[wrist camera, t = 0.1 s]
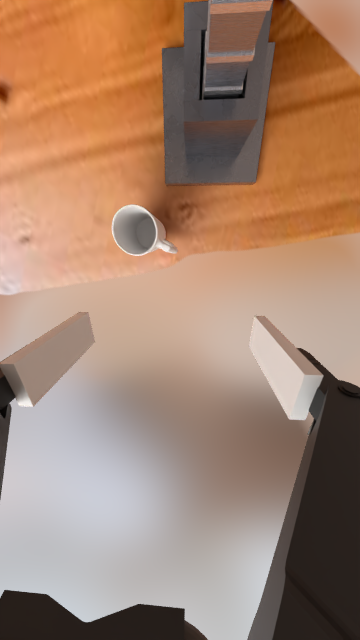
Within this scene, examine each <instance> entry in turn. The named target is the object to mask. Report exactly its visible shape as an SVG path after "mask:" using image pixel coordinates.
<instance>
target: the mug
mask: <svg viewBox="0 0 360 640" xmlns="http://www.w3.org/2000/svg"><path fill="white" fill-rule="evenodd" d="M112 233H113V237H114V239H115V241H116V243H117V245H118V246H119V247H120V248H121V249H122V250H123V251H124V252H126V253H128V254H130V255H134V256H140V255H144V254H147V253H150V252H152V251H155V250H157V249H159V248H161V249H163V250H164V251H166V252H170V253H177V252H178V249H177V248H176V247H175V246H174V245H173V244H172V243H170V242H169V241H167V240H166V231H165V228H164V226H163V224H162V223H161V222H160V221H159V220H158V219H157V218H156V217H155V216H154V215H153V214H151V213H150V212H149V211H148V210H146V209H145V208H143V207H141V206H139V205H126V206H124V207H122V208H120V209H119V210H118V211H117V212H116V214H115V216H114V218H113V221H112Z"/></svg>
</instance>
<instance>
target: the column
mask: <svg viewBox="0 0 360 640" xmlns="http://www.w3.org/2000/svg"><path fill="white" fill-rule="evenodd" d="M272 1H273V0H208V23H207V31H206V35H205V61H204V66H203V85H202V89H201V100H216V99H238V96H239V94H241V93H242V90H243V81H244V78H245V75H246V72H247V69H248V66H249V63H250V61H252V60H253V57H254V53H255V44H256V41H257V38H258V35H259V32H260V29H261V26H262V23H263V20H264V17H265V14H266V11H269V10H270V7H271V4H272Z"/></svg>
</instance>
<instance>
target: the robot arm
mask: <svg viewBox="0 0 360 640" xmlns="http://www.w3.org/2000/svg"><path fill="white" fill-rule="evenodd" d="M94 342H95V340H94V335H93V331H92V326H91V322H90V317H89V313H88V312H79V313H77V314H76V315H74V316H72V317H71V318H69V319H68V320H66V321H64V322H63V323H61V324H60V325H58V326H57V327H55V328H54V329H52V330H50V331H49V332H47V333H46V334H44V335H42V336H41V337H39V338H38V339H36V340H35V341H33V342H31V343H30V344H28V345H26V346H25V347H23V348H22V349H20V350H19V351H17V352H15V353H14V354H12V355H10V356H9V357H7V358H6V359H4V360H3V361H1V362H0V498H1V490H2V481H3V473H4V466H5V457H6V450H7V442H8V434H9V425H10V417H11V405H10V404H9V403H10V402H11V401H12V400H13V399H14V398H16V400H17V402H18V404H19V406H29V407H34V405H35V404H36V403H37V402H38V401H39V400H40V399H41V398H42V397H43V396H44V395H45V394H46V393H47V392H48V391H49V390H50V389H51V388H52V387H53V385H54V384H55V383H56V382H57V381H58V380H59V379H60V378H61V377H62V376H63V375H64V374H65V373H66V372H67V371H68V370H69V369H70V368H71V366H73V365H74V363H75V362H76V361H77V360H78V359H79V358H80V357H81V356H82V355H83V354H84V353H85V352H86V351H87V350H88V349H89V348H90V347H91V345H93V343H94ZM249 347H250V349H251V351H252V353H253V355H254V357H255V358H256V360H257V362H258V364H259V366H260V367H261V369H262V371H263V373H264V375H265V377H266V378H267V380H268V382H269V384H270V386H271V387H272V389H273V391H274V393H275V394H276V396H277V398H278V400H279V402H280V404H281V405H282V407H283V409H284V411H285V413H286V414H287V416H288V418H289V419H293V420H305V419H306V417H307V414H308V412H310V413H311V415H312V416H313V417H314V421H313V423H312V425H311V427H310V430H309V432H308V435H309V436H308V440H307V443H306V446H305V450H304V453H303V457H302V460H301V464H300V467H299V471H298V474H297V478H296V481H295V484H294V488H293V491H292V495H291V498H290V502H289V505H288V509H287V512H286V516H285V519H284V522H283V526H282V530H281V533H280V537H279V540H278V543H277V547H276V551H275V554H274V557H273V561H272V564H271V567H270V571H269V574H268V578H267V581H266V585H265V588H264V592H263V595H262V598H261V602H260V605H259V608H258V610H257V613H256V616H255V618H254V621H253V624H252V627H251V630H250V633H249V636H248V640H360V388H359V387H358V386H356V385H353V384H351V383H349V382H345V381H340V380H338V379H337V378H335V377H334V376H333V375H332V374H331V373H330V372H329V371H328V370H327V369H326V368H325V367H323V365H321V363H320V362H318V361H317V360H316V359H315V358H314V357H313V356H312V355H311V354H310V353H308V352H307V351H305V350H303V349H301V348H296V347H295V346H294V345H293V344H292V343H291V342H290V341H289V340H288V339H287V338H286V337H285V336H284V335H283V334H282V333H281V332H280V331H279V330H278V329H277V328H276V327H275V326H274V325H273V324H272V323H271V322H270V321H269V320H268V319H267V318H266V317H265V316H254V322H253V327H252V333H251V338H250V344H249ZM184 611H185V609H182V608H172V607H162V606H153V605H144V604H137V605H135V606H132V607H129V608H127V609H124V610H121V611H119V612H116V613H113V614H111V615H108V616H105V617H102V618H100V619H97V620H94V621H92V622H83V621H81V620H80V619H78V618H77V617H76V616H74V615H73V614H72V613H71V612H69V611H68V610H67V609H65V608H64V607H63V606H62V605H60V604H59V603H58V602H56V601H55V600H54V599H52V598H51V597H50V596H48V595H47V594H38V593H28V592H19V591H10V590H4V592H3V594H2V596H1V598H0V640H208V639H207V638H206V637H205V636H204V635H203V634H202V633H201V632H200V631H199V630H198V629H197V628H195V627H194V626H193V625H191V624H189V623H188V622H187V621H185V620H184V613H185V612H184Z"/></svg>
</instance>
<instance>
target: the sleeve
mask: <svg viewBox="0 0 360 640" xmlns="http://www.w3.org/2000/svg"><path fill="white" fill-rule="evenodd" d="M272 8H273V1H272V4H271V7H270V10H269V11H266V14H265V17H264V20H263V23H262V26H261V29H260V32H259V35H258V38H257V41H256V44H255V53H254V57H253V60H252V61H250V63H249V66H248V69H247V72H246V75H245V78H244V81H243V90H242V93H241V94H239V96H238V99H216V100H201V89H202V85H203V66H204V61H205V35H206V31H207V23H208V1H202V2H187V3H184V47H177V48H162V69H163V108H164V146H165V184H166V186H194V185H253V184H254V183H255V182H256V177H257V170H258V163H259V156H260V148H261V141H262V134H263V127H264V120H265V113H266V105H267V98H268V91H269V84H270V77H271V70H272V63H273V55H274V48H275V42H270V43H268V39H269V31H270V23H271V16H272Z"/></svg>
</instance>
